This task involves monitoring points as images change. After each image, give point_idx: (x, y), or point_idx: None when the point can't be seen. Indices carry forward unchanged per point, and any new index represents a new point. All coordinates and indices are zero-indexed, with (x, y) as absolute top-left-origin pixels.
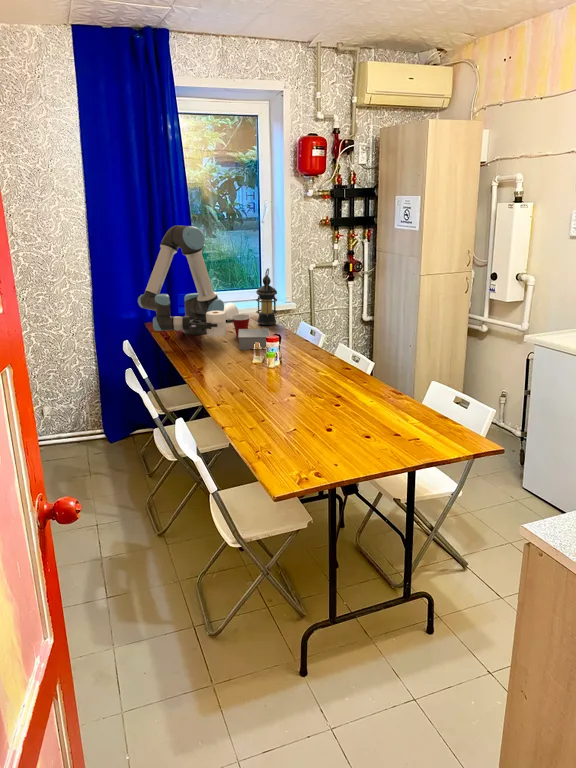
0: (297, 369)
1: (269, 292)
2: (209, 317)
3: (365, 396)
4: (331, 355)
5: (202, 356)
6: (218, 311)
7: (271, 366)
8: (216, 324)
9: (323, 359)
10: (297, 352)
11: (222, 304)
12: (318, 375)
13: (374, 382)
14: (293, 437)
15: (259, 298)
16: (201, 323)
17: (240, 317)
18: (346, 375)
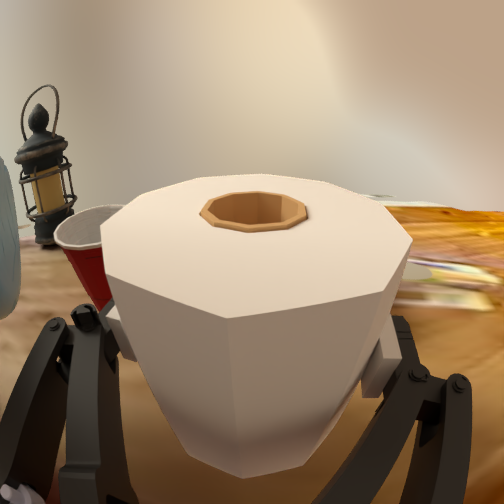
0: (485, 250)
1: (61, 141)
2: (377, 324)
3: None
4: None
5: (481, 488)
6: (193, 193)
7: (494, 279)
8: (405, 323)
9: (409, 217)
10: None
11: (10, 189)
12: (493, 238)
13: (481, 211)
14: None
15: (35, 170)
16: (436, 488)
17: (72, 232)
18: (474, 219)
